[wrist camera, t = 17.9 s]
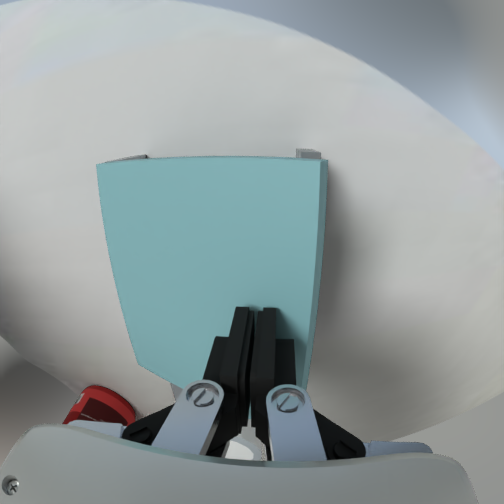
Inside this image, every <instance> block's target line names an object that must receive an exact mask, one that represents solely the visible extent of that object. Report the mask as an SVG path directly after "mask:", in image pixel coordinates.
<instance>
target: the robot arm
mask: <svg viewBox="0 0 504 504" xmlns="http://www.w3.org/2000/svg"><path fill="white" fill-rule="evenodd" d="M250 404H251V427H255V436H256V437H257V438H258V439H259V440H260V441H261V442H263V443H264V444H265V447H264V448H265V456H266V461H256V460H241V459H229V458H225V456H226V454H227V451H228V448H229V445H230V440H231V439H233V438H234V437H236V436H238V434H241V431H242V427H247V425H248V417H249V409H250ZM0 504H478V500H477V497H476V494H475V491H474V488H473V486H472V483H471V481H470V479H469V477H468V475H467V473H466V471H465V470H464V468H463V467H462V466H461V464H460V463H459V462H457V461H456V460H454V459H453V458H450V457H447V456H444V455H439V454H433V452H432V450H431V448H430V447H429V446H427V445H425V444H424V443H419V442H386V441H371V442H370V443H364V442H362V441H361V440H359V439H358V438H357V437H355V436H354V435H352V434H351V433H349V432H347V431H346V430H344V429H343V428H341V427H340V426H338V425H337V424H335V423H333V422H332V421H330V420H329V419H327V418H326V417H324V416H323V415H321V414H320V413H319V412H317V411H316V410H314V409H313V407H312V404H311V400H310V397H309V395H308V393H307V392H306V391H305V390H304V389H303V388H301V387H299V386H296V366H295V345H294V339H276V308H268V307H263V311H258V314H257V322H256V331H255V320H254V310H250V309H249V307H239V306H236V308H235V312H234V316H233V320H232V324H231V329H230V333H229V337H224V336H216V337H215V339H214V342H213V345H212V349H211V352H210V355H209V359H208V362H207V365H206V369H205V372H204V375H203V379H202V380H197V381H194V382H191V383H190V384H188V385H187V386H186V387H185V388H184V389H183V391H182V392H181V394H180V396H179V398H178V399H177V401H176V403H175V404H173V405H171V406H168V407H166V408H164V409H162V410H160V411H158V412H156V413H153V414H151V415H149V416H147V417H144V418H142V419H140V420H138V421H135V422H133V423H131V424H130V425H128V426H123V425H122V424H120V423H105V422H94V421H84V420H74V421H72V422H69V423H68V424H67V425H66V424H40V425H36V426H33V427H31V428H30V429H28V430H27V431H26V432H25V433H24V434H23V435H22V436H21V437H20V438H19V440H18V441H17V442H16V444H15V445H14V447H13V448H12V449H11V451H10V452H9V454H8V456H7V457H6V459H5V461H4V462H3V464H2V466H1V468H0Z"/></svg>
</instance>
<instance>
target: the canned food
mask: <svg viewBox="0 0 504 504" xmlns="http://www.w3.org/2000/svg"><path fill="white" fill-rule="evenodd" d="M74 420H84V421H94V422H105V423H120V424H122V425H123V426H128V425H130V424H131V423H133V422H135V412H134V410H133V408H132V407H131V405H130V404H129V403H128V402H127V401H126V400H125V399H124V398H122V397H121V396H120V395H118V394H117V393H115V392H114V391H112V390H110V389H107V388H105V387H102V386H96V385H93V386H89V387H87V388H86V389H85V390H83V392H82V393H81V395H80V396H79V398H78V399H77V401H76V402H75V404H74V406H73V407H72V409H71V410H70V412H69V414H68V415H67V417H66V419H65V420H64V422H63V423H62V424H66V425H67V424H68V423H69V422H72V421H74Z"/></svg>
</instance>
